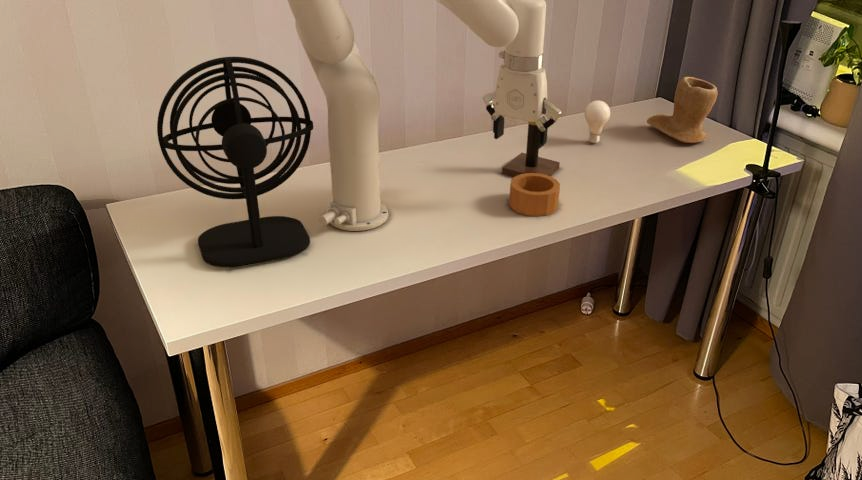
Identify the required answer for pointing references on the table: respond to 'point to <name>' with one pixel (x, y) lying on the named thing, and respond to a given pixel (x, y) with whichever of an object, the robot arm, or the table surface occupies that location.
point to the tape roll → (534, 194)
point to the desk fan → (240, 162)
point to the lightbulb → (596, 118)
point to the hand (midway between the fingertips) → (519, 141)
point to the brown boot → (687, 111)
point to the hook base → (519, 167)
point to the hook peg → (532, 145)
